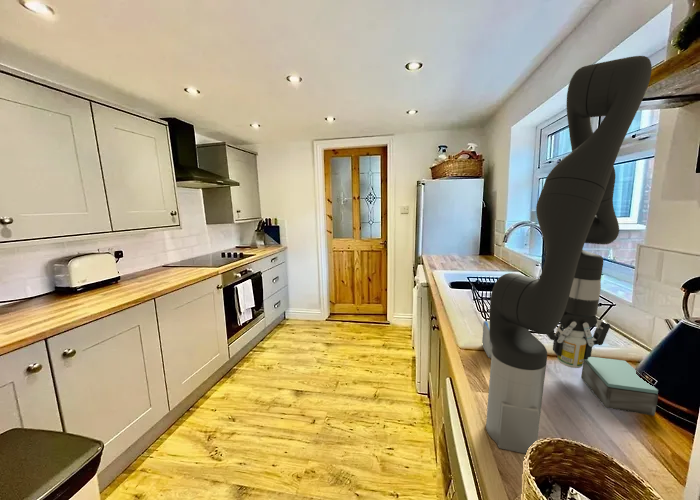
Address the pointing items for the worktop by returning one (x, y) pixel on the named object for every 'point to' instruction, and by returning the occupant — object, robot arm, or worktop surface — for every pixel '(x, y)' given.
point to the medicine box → (487, 339)
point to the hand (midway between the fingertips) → (570, 355)
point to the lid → (619, 374)
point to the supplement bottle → (573, 350)
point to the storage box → (619, 395)
